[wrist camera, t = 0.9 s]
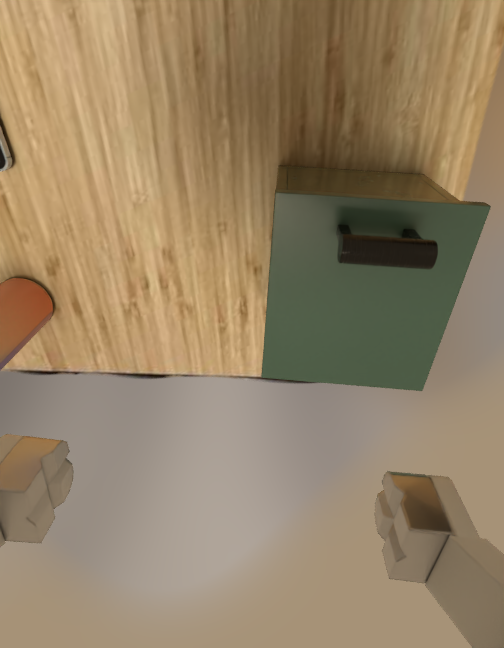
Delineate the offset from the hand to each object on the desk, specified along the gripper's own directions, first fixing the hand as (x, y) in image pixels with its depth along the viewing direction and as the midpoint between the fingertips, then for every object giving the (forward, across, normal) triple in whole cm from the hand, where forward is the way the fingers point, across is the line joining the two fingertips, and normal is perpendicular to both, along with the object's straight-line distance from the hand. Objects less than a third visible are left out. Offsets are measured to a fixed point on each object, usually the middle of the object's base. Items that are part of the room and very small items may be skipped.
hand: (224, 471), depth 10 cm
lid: (+19, -7, +3) cm, 20 cm away
